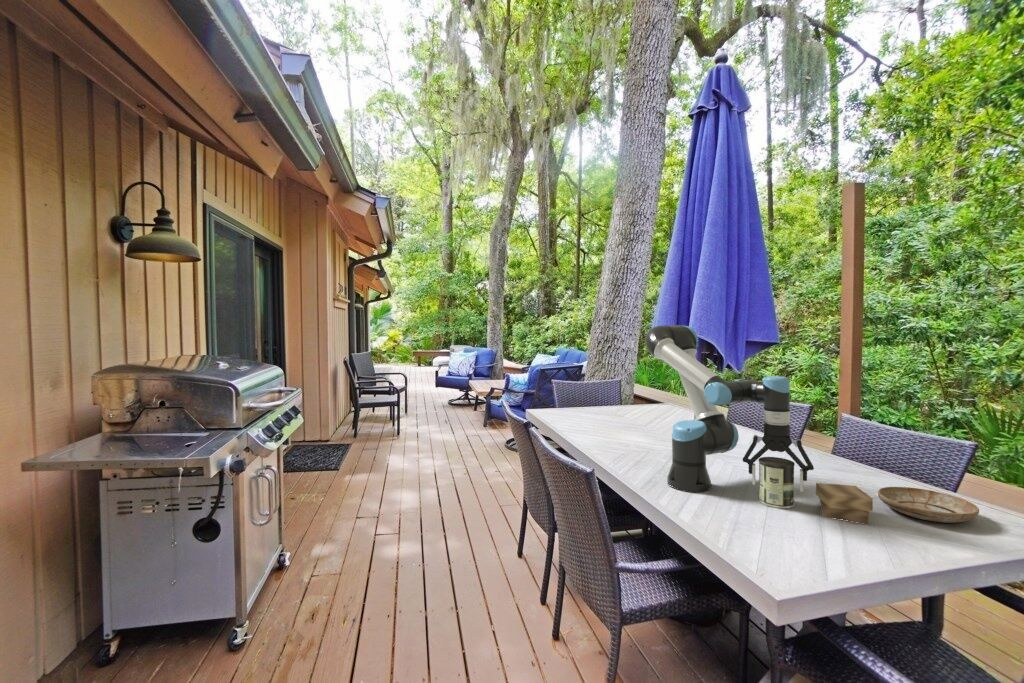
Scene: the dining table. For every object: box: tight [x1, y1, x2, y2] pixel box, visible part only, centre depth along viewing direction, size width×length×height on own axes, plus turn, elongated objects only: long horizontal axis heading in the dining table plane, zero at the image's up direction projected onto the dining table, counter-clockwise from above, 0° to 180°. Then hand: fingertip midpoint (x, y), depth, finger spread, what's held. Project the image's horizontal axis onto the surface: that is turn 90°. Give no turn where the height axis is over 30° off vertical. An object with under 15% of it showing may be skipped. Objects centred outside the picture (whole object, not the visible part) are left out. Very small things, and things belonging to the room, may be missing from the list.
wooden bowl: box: [877, 486, 980, 524], centre depth 140 cm, size 23×24×5 cm
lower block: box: [819, 498, 869, 525], centre depth 140 cm, size 11×11×4 cm
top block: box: [815, 482, 874, 512], centre depth 140 cm, size 11×11×4 cm
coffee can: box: [758, 456, 796, 509], centre depth 150 cm, size 10×10×14 cm
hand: (777, 486), depth 149 cm, fingers open, 13 cm apart
